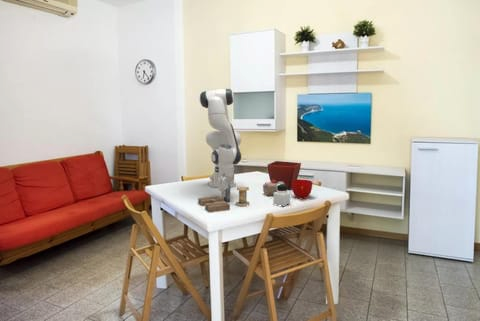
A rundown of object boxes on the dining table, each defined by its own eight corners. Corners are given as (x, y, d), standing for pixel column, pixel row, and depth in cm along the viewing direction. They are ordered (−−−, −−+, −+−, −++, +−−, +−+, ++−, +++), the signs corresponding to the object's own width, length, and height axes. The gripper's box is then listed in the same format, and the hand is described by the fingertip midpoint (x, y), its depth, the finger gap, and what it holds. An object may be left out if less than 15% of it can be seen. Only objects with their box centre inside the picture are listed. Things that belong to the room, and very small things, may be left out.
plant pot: (300, 185, 263) (301, 162, 261) (293, 191, 246) (293, 166, 244) (275, 183, 271) (276, 160, 269) (266, 188, 254) (266, 164, 252)
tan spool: (233, 203, 217) (233, 186, 215) (246, 202, 220) (246, 185, 218) (239, 206, 209) (239, 189, 208) (251, 205, 213) (251, 188, 211)
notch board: (198, 203, 217) (198, 198, 217) (217, 200, 222) (217, 196, 222) (209, 212, 199) (209, 206, 199) (229, 209, 204) (229, 204, 204)
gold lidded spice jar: (222, 200, 222) (222, 183, 221) (228, 200, 224) (228, 182, 222) (224, 202, 219) (224, 184, 217) (231, 201, 220) (231, 184, 219)
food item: (265, 196, 232) (265, 181, 231) (262, 193, 240) (262, 179, 238) (286, 195, 235) (286, 180, 233) (282, 192, 243) (282, 178, 241)
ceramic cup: (290, 201, 222) (291, 184, 221) (291, 194, 239) (291, 179, 237) (312, 201, 220) (313, 185, 219) (311, 195, 237) (312, 179, 235)
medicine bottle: (290, 204, 215) (290, 184, 213) (283, 206, 210) (283, 186, 208) (280, 202, 220) (280, 182, 218) (273, 204, 215) (273, 184, 213)
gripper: (226, 175, 208) (226, 199, 210) (235, 169, 227) (235, 191, 229) (215, 175, 209) (215, 198, 211) (226, 169, 229) (226, 190, 231)
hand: (226, 194), depth 220 cm, fingers open, 8 cm apart
